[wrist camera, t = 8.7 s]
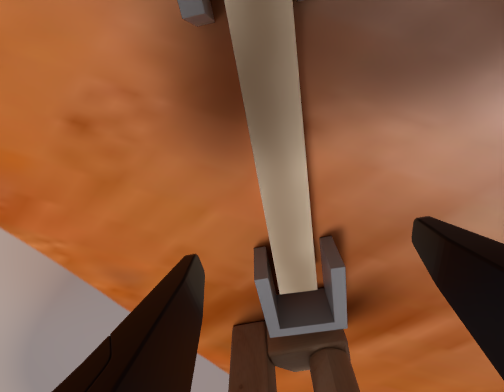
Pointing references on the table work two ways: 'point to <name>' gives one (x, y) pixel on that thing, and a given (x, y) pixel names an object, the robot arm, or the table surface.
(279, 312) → the endcap
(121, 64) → the table surface
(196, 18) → the endcap
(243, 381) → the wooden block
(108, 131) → the table surface
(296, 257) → the slat
